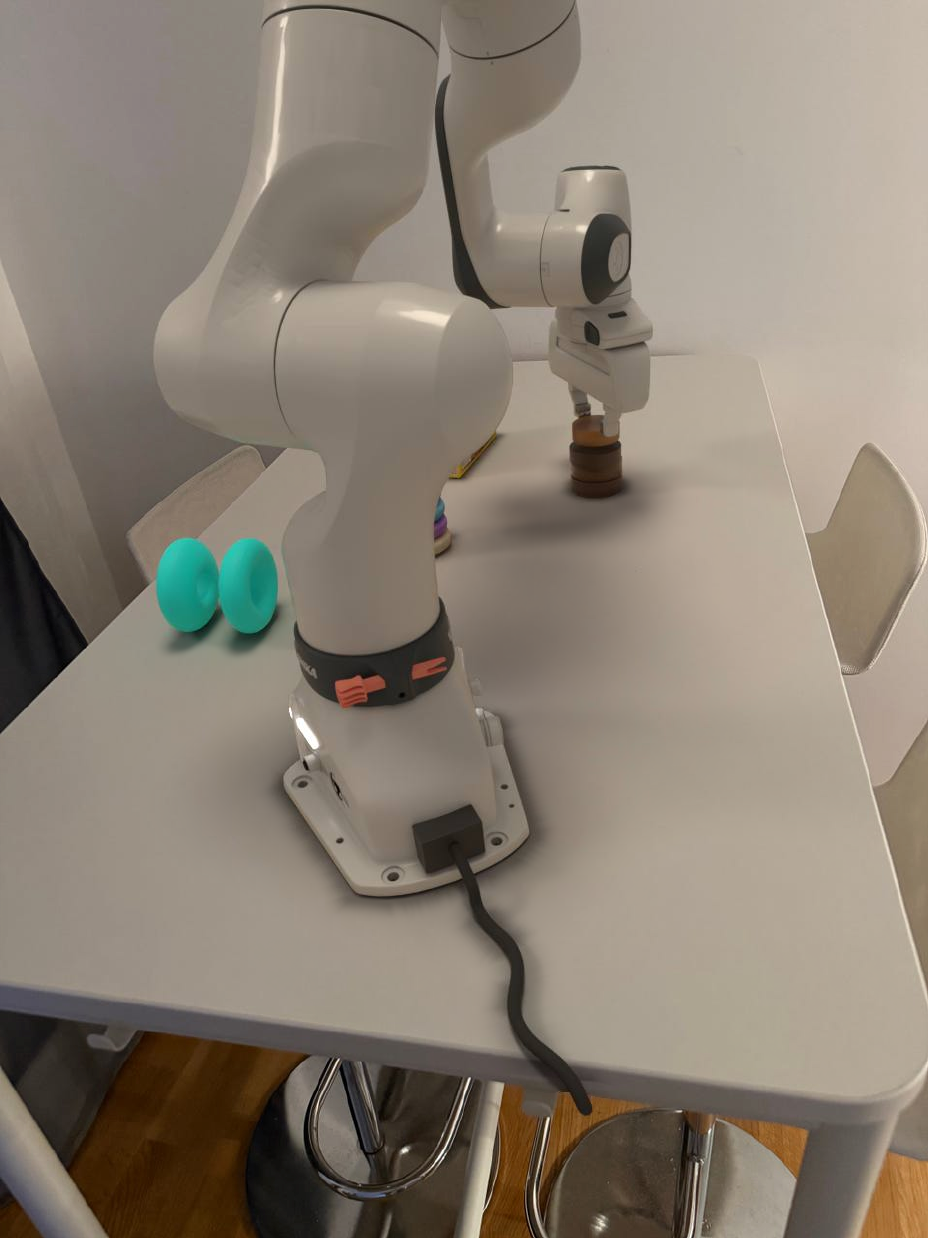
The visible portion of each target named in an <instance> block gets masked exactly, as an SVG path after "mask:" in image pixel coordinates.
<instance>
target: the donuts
mask: <svg viewBox="0 0 928 1238" xmlns="http://www.w3.org/2000/svg"><path fill="white" fill-rule="evenodd" d="M155 590H156V599H157V602H158V606H159V609H160V612H161V615H162V616H163V618H164V619H165V621H166V622H167V623H168V624H169V626H171V627H172V628H174V629H175V630H177V631H180V632H183V633H192V632H196V631H198V630H200V629H202V628H203V627H205V626H206V625H207V624H208V623H209V621H210V619H212V617H213V615H214V614H215V612H216V609H217V606H218V602H219V604H220V607H221V611H222V613H223V616H224V618H225V619H226V621H227V622H228V623H229V625H230V626H232V628H234V630H236V631H238V632H240V633H243V634H255V633H258V632H260V631H262V630H263V629H265V627H266V626H267V625H268V624H269V623H270V621H271V619H272V617H273V615H274V613H275V609H276V606H277V601H278V593H279V577H278V570H277V565H276V562H275V559H274V557H273V554H272V552H271V550H270V549H269V548H268V546H267V545H266V544H265V543H264V542H263V541H261V540H260V539H257V538H253V537H244V538H241V539H239V540H237V541H236V542H234V543H233V544H232V545H231V546H230V547H229V548H228V550H227V551H226V552H225V554H224V557H223V558H222V561H221V564H220V566H219V567H218V564H217V561H216V558H215V557H214V555H213V553H212V552H211V550H210V549H209V548H208V546H207V545H205V544H204V543H203V542H202V541H201V540H198V539H196V538H192V537H182V538H179V539H176V540H175V541H172V542H171V544H170V545H168V547H167V548H166V549H165V550H164V552H163V554H162V555H161V558H160V560H159V563H158V567H157V571H156V581H155Z"/></svg>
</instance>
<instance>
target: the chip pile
mask: <svg viewBox="0 0 928 1238" xmlns="http://www.w3.org/2000/svg"><path fill="white" fill-rule="evenodd" d="M568 447H569V448H568V450H569V453H568V454H569V463H570V488H571V491H572V492H573V494H575V495H577V496H579V497H583V498H588V499H599V498H600V499H601V498H607V497H610V496H611V497H612V496H613V495H616V494H618V493H619V492H621V490H622V489H623V488H622V487H623V456H622V443H621V441H620V440H619V439H618V440H617V441H616V442H614V443H612V444H609V445H605V446H598V447H589V446H582V445H579V444H576V443H575V442H574V441H573V440H572V442H570V444H569V446H568Z"/></svg>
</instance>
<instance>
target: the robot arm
mask: <svg viewBox="0 0 928 1238" xmlns="http://www.w3.org/2000/svg"><path fill="white" fill-rule="evenodd" d="M262 2H263V3H262V13H261V26H260V27H261V29H260V44H259V57H258V58H259V59H258V74H257V84H256V85H257V86H256V95H255V96H256V97H255V105H254V107H255V108H254V118H253V129H252V136H251V137H252V138H251V147H250V154H249V160H248V164H247V168H246V173H245V176H244V177H245V178H244V181H243V184H242V188H241V191H240V194H239V197H238V200H237V203H236V205H235V208H234V209H233V210H234V211H233V213H232V216H231V218H230V220H229V222H228V224H227V227H226V230H225V231H224V234H223V236H222V237H221V240H220V242H219V243H218V246H217V247H216V249H215V251H214V253H213V254H212V256H211V258H210V259H209V261H208V262H207V264H206V266H205V267H204V269H203V270H202V271H201V273H200V274H199V275H198V276H197V278H196V279H195V280H194V281H193V282H192V283H191V284H190V285H189V286H188V287H187V288H186V289H185V290H183V292H182V293H180V294H179V295H178V296H177V297H175V298H174V299H173V300H172V301H171V302H170V303H169V304H168V306H167V307H166V308H165V310H164V311H163V314H162V315H161V317H160V319H159V321H158V325H157V328H156V330H155V335H154V341H153V348H152V353H153V354H152V358H153V359H152V360H153V368H154V375H155V378H156V382H157V384H158V385H157V386H158V387H159V390H160V393H161V394H162V397H163V399H164V400H165V402H166V404H167V405H168V407H169V408H170V409H171V410H172V412H174V414H175V415H176V416H177V417H179V418H180V419H181V420H183V421H184V422H186V423H187V424H190V425H193V426H195V427H196V428H199V429H202V430H205V431H207V432H210V433H212V434H214V435H217V436H220V437H224V438H226V439H229V440H232V441H235V442H238V443H242V444H249V445H257V446H267V447H277V448H284V449H292V450H293V449H295V450H300V451H301V450H303V451H311V452H313V453H317V454H318V456H319V457H320V459H321V461H322V463H323V467H324V472H325V490H324V491H321V492H320V493H318V494H316V495H315V496H313V497H312V498H309V500H307V501H305V502H304V503H303V504H302V505H301V506H300V507H299V508H298V509H297V510H296V511H295V512H294V513H293V515H292V516H291V518H290V520H289V521H288V522H287V523H288V524H287V525H286V528H285V529H284V533H283V536H282V539H281V545H280V553H281V558H282V563H283V567H284V571H285V575H286V576H285V577H286V580H287V585H288V590H289V594H290V599H291V602H292V606H293V607H292V608H293V610H294V616H295V621H294V625H293V636H294V641H293V642H294V644H293V645H294V651H295V655H296V658H297V660H298V662H299V667H300V671H301V673H302V675H301V677H300V679H299V681H298V683H297V685H296V686H295V687H294V689H293V690H292V692H291V694H290V695H289V697H288V703H289V714H290V717H291V720H292V724H293V729H294V733H295V738H296V742H297V743H296V744H297V748H298V753H299V759H297V760H296V761H295V762H294V763H293V764H292V765H291V766H290V767H288V768H287V770H286V771H285V772H284V774H283V776H282V780H283V789H284V790H285V792H286V794H287V795H288V797H289V798H290V800H291V801H292V803H293V804H294V806H295V807H296V808H297V810H298V811H299V813H300V814H301V816H302V817H303V819H304V820H305V821H306V823H307V825H308V826H309V828H310V829H311V831H312V833H314V835H315V836H316V838H317V839H318V841H319V842H320V844H321V845H322V847H323V849H324V850H325V851H326V853H327V855H329V857H330V858H331V860H332V862H333V863H334V865H335V866H336V868H337V870H338V871H339V872H340V874H341V875H342V877H343V878H344V879H345V881H346V882H347V884H348V885H349V887H350V888H351V889H352V890H353V891H354V893H356V894H358V895H362V896H368V897H369V896H370V897H394V896H403V895H409V894H414V893H419V892H424V891H428V890H431V889H435V888H438V887H441V886H445V885H448V884H451V883H454V882H457V881H459V880H461V879H462V881H463V883H464V886H465V889H466V891H467V896H468V899H469V900H468V901H469V904H470V907H471V910H472V912H473V914H474V916H475V918H476V920H477V921H478V923H479V924H480V925H481V926H482V928H483V929H484V930H485V931H486V933H488V935H489V936H491V937H492V938H493V939H494V940H495V941H497V942H498V944H500V945H501V946H502V948H503V949H504V950H505V952H506V954H507V955H508V958H509V962H510V979H509V984H508V989H507V990H508V991H507V997H506V1000H507V1001H506V1007H507V1008H506V1009H507V1015H508V1019H509V1022H510V1025H511V1027H512V1029H513V1031H514V1033H515V1035H516V1037H517V1038H518V1040H519V1041H520V1042H521V1044H522V1045H523V1046H524V1047H525V1048H526V1049H527V1050H528V1052H530V1053H531V1054H532V1055H533V1056H534V1057H536V1058H537V1059H538V1060H539V1061H541V1062H542V1063H543V1064H544V1065H545V1066H547V1067H548V1068H549V1069H550V1070H551V1071H552V1072H553V1073H554V1074H555V1075H556V1076H557V1077H558V1078H559V1079H560V1080H561V1082H562V1083H563V1085H564V1087H566V1089H567V1091H568V1092H569V1095H570V1096H571V1098H572V1101H573V1103H574V1105H575V1107H576V1109H577V1111H578V1112H579V1113H580V1114H581V1115H582V1116H585V1117H586V1116H590V1115H592V1113H593V1111H594V1110H593V1104H592V1102H591V1100H590V1097H589V1095H588V1093H587V1091H586V1089H585V1087H584V1085H583V1083H582V1082H581V1080H580V1079H579V1077H578V1075H577V1074H576V1072H575V1071H574V1070H573V1068H572V1067H571V1066H570V1065H569V1064H568V1063H567V1062H566V1061H565V1060H564V1059H563V1058H562V1057H561V1056H560V1055H559V1054H558V1053H556V1052H555V1051H554V1050H553V1049H552V1048H550V1047H549V1045H546V1043H544V1042H543V1041H542V1040H540V1039H539V1038H538V1037H537V1036H536V1035H535V1034H534V1032H533V1031H532V1030H531V1029H530V1028H529V1027H528V1025H527V1024H526V1021H525V1019H524V1015H523V1013H522V1012H523V1011H522V992H523V987H524V980H525V963H524V958H523V954H522V952H521V950H520V948H519V945H518V944H517V942H516V941H515V939H514V938H513V937H512V936H511V935H510V934H509V933H508V932H507V931H506V930H505V929H504V928H503V927H502V926H500V925H499V924H498V923H497V922H496V921H495V920H494V919H493V918H492V917H491V915H490V914H489V912H488V911H487V909H486V908H485V905H484V903H483V900H482V899H483V898H482V895H481V890H480V886H479V884H478V881H477V878H476V876H475V874H476V873H479V872H481V871H484V870H487V869H488V868H490V867H492V866H493V865H496V864H497V863H499V862H501V861H503V860H504V859H505V858H507V857H508V856H509V855H511V854H512V853H514V852H515V851H516V850H517V849H518V848H519V847H521V845H522V844H523V843H524V842H525V841H526V840H527V838H529V835H530V828H529V827H530V826H529V822H528V819H527V815H526V813H525V809H524V805H523V802H522V799H521V796H520V793H519V790H518V786H517V783H516V780H515V776H514V774H513V771H512V767H511V765H510V761H509V758H508V754H507V752H506V749H505V745H504V732H503V727H502V723H501V720H500V717H499V716H497V715H494V714H493V712H490V711H488V710H484V709H483V707H477V708H476V706H475V705H476V704H475V702H474V699H473V698H474V697H478V696H481V695H483V689H482V683H481V680H480V678H473V679H469V678H468V677H467V673H466V670H465V660H464V651H463V650H464V649H463V648H461V647H459V646H458V645H456V644H454V642H453V638H452V636H453V633H452V627H451V623H450V620H449V616H448V614H447V611H446V606H445V604H444V603H445V602H444V601H443V599H442V598H441V597H440V596H439V595H440V594H439V587H438V579H437V578H438V577H437V567H436V565H437V564H436V555H435V549H434V519H435V513H436V507H437V504H438V500H439V497H440V498H441V496H440V494H441V495H442V492H443V489H444V487H445V485H446V484H447V481H448V480H449V477H450V475H451V474H452V472H453V471H454V470H455V469H456V468H457V467H458V466H459V465H460V464H461V463H462V462H463V461H464V460H465V459H466V458H468V457H469V456H470V455H472V454H473V453H475V452H476V451H477V450H479V449H480V448H481V447H482V446H483V445H484V444H485V443H486V442H487V441H488V440H489V439H490V437H491V436H492V435H493V434H494V432H495V431H496V432H497V429H498V428H499V426H500V424H501V422H503V419H504V417H505V415H506V413H507V410H508V408H509V404H510V400H511V398H512V392H513V386H514V361H513V357H512V356H513V355H512V351H511V346H510V343H509V340H508V337H507V336H506V333H505V330H504V328H503V326H502V324H501V323H500V320H499V319H498V318H497V316H496V315H495V313H494V311H492V310H498V309H499V310H501V309H509V308H555V310H554V318H553V319H552V320H551V321H550V324H549V330H548V365H549V366H548V367H549V369H550V372H551V374H552V375H555V376H556V377H558V378H560V379H561V380H563V381H565V382H566V383H567V389H568V393H569V395H570V399H571V401H572V404H573V416H574V417H576V419H578V418H581V417H584V416H590V415H592V404H591V403H589V399H588V396H590V397H591V398H593V399H594V400H596V401H598V402H599V403H601V404H602V410H603V411H604V414H603V415H604V419H603V420H600V432H601V433H602V434H603V435H605V436H607V437H611V436H615V435H617V434H618V421H619V422H620V419H621V417H622V415H623V414H626V413H627V414H628V413H632V412H636V411H640V410H642V409H644V408H645V407H646V405H647V403H648V402H649V398H650V388H651V353H650V349H649V345H648V344H647V343H646V342H648V341H651V340H652V339H653V334H654V333H653V332H654V326H653V322H652V321H651V320H650V319H649V317H647V315H646V314H645V313H644V312H643V311H642V310H641V308H640V306H639V305H638V304H637V301H636V300H635V298H633V297H632V293H633V291H632V287H633V286H632V279H631V276H630V271H631V265H632V247H633V227H632V210H631V209H632V208H631V199H630V191H629V184H628V178H627V175H626V172H625V171H624V170H623V169H621V168H620V167H618V166H614V165H579V166H578V165H577V166H570V167H567V168H565V169H563V170H561V171H560V172H559V173H558V174H557V179H556V186H555V197H554V211H534V212H511V211H507V210H504V209H502V208H500V207H497V205H495V204H494V198H493V190H492V181H491V172H490V165H489V164H490V163H489V156H488V152H489V151H490V150H492V149H493V148H495V147H496V146H498V145H500V144H501V143H503V142H505V141H507V140H509V139H511V138H514V137H516V136H518V135H520V134H523V133H525V132H527V131H529V130H531V129H532V128H534V127H535V126H537V125H538V124H540V123H541V122H543V121H544V120H545V119H547V117H549V116H550V115H551V114H552V113H553V112H554V111H555V110H556V109H557V108H558V107H559V106H560V104H561V103H562V102H563V100H564V99H565V98H566V96H567V95H568V93H569V92H570V91H571V88H572V87H573V85H574V82H575V80H576V78H577V75H578V73H579V68H580V65H581V60H582V35H581V34H582V33H581V31H582V30H581V23H580V14H579V8H578V3H577V0H263V1H262ZM442 28H443V31H444V34H445V39H446V41H447V44H448V48H449V53H450V64H451V65H450V73H449V74H448V75H447V76H445V78H443V79H442V80H441V82H440V85H439V86H438V90H437V84H438V83H437V82H438V73H439V61H440V46H441V35H442V34H441V32H442ZM433 127H434V128H433ZM433 129H434V133H435V140H436V148H437V156H438V162H439V169H440V177H441V181H442V187H443V194H444V200H445V205H446V206H445V207H446V211H447V217H448V223H449V229H450V237H451V258H452V260H451V261H452V272H453V278H454V282H455V285H456V287H457V289H458V290H459V292H460V293H458V292H454V291H451V290H449V289H448V290H447V289H444V288H439V287H437V286H431V285H428V284H424V283H423V284H422V283H418V282H415V281H374V280H373V281H371V280H369V281H368V280H367V281H365V280H363V281H362V280H353V278H354V275H355V272H356V270H357V267H358V266H359V264H360V262H361V259H362V258H363V256H364V255H365V253H366V252H367V250H368V249H369V247H370V246H371V245H372V243H373V242H374V241H375V240H376V239H377V238H378V237H379V236H380V235H381V234H382V233H383V232H384V231H386V230H387V229H388V228H390V227H392V226H393V225H394V224H396V223H397V222H399V221H400V220H402V219H403V218H405V216H407V215H408V214H409V213H410V212H412V210H413V209H414V207H415V206H416V205H417V204H418V202H419V200H420V199H421V196H422V194H423V193H424V190H425V187H426V185H427V181H428V179H429V173H430V159H431V151H432V150H431V148H432V138H433Z"/></svg>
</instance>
